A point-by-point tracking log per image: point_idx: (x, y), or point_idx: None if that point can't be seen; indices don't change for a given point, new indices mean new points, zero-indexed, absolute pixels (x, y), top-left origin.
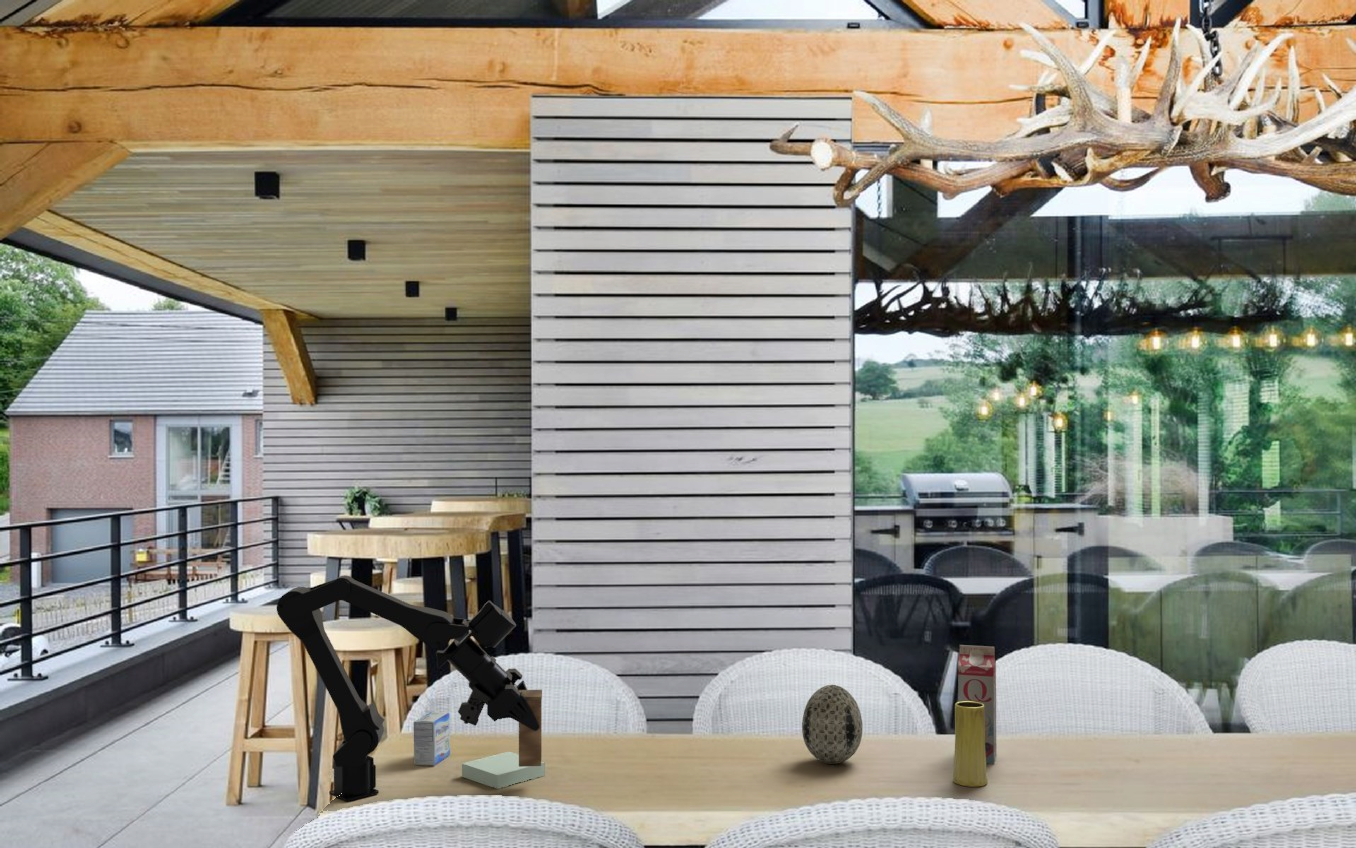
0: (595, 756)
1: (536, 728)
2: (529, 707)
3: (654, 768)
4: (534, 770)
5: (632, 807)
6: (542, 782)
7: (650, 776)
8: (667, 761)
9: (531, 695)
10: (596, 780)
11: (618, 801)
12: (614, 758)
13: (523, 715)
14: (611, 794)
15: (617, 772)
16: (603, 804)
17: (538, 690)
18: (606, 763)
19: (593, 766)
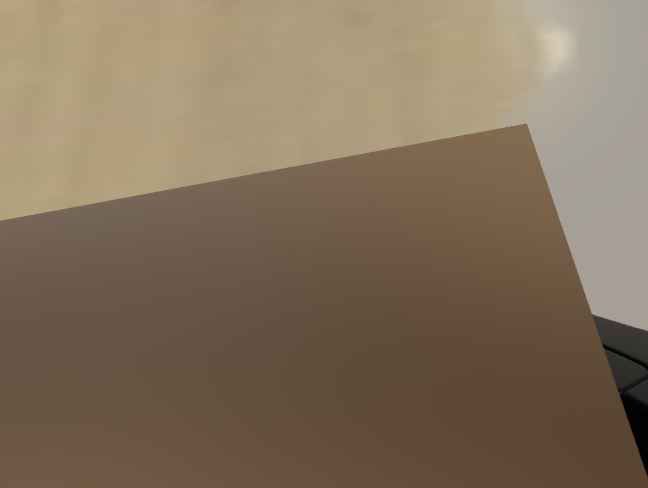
0: (8, 197)
1: None
2: (645, 330)
3: (152, 24)
4: None
5: (506, 26)
6: None
7: (225, 23)
8: (91, 3)
9: (465, 334)
10: (260, 155)
11: (458, 67)
12: (40, 139)
13: None
14: (395, 94)
15: (183, 110)
16: (491, 101)
17: (34, 275)
18: (88, 154)
19: (115, 186)
